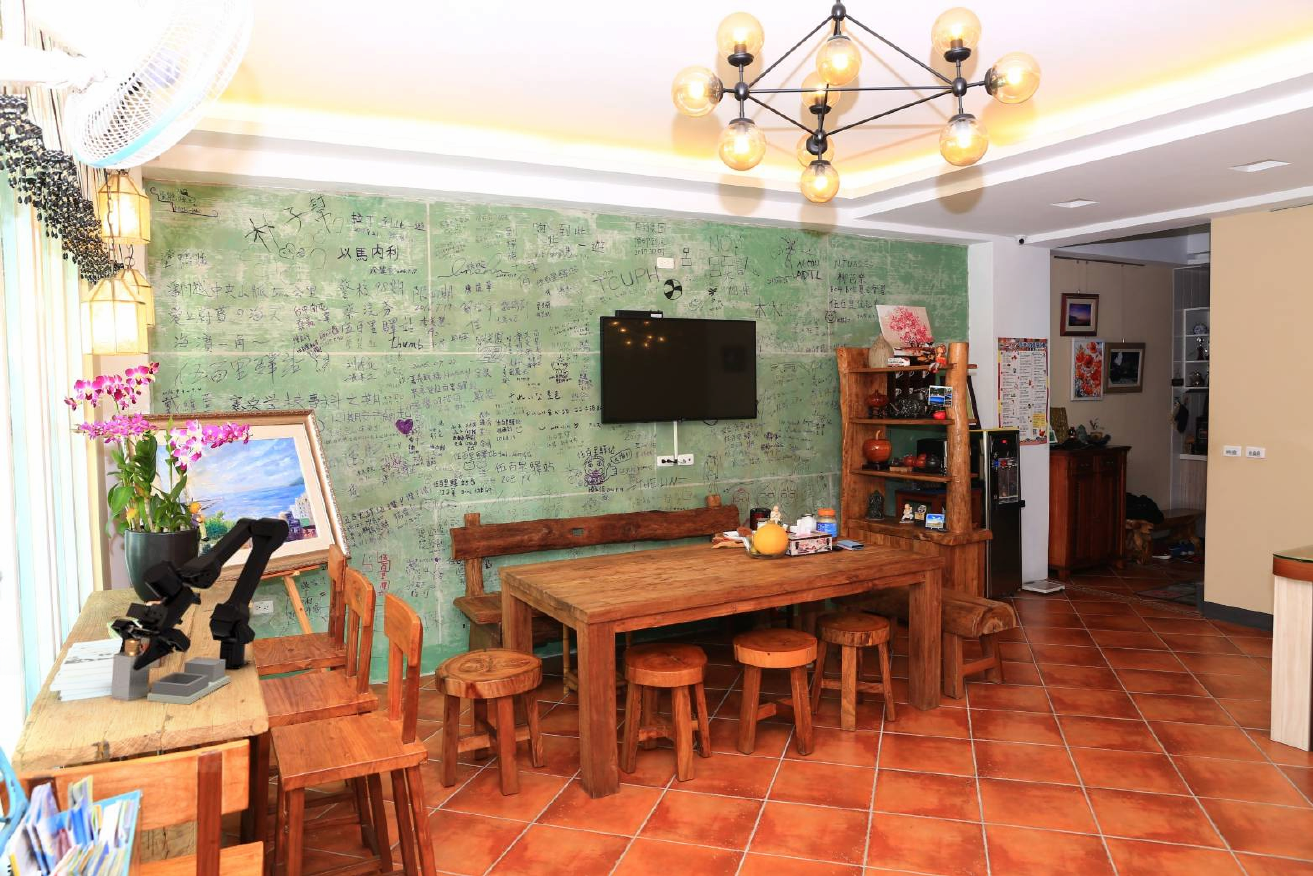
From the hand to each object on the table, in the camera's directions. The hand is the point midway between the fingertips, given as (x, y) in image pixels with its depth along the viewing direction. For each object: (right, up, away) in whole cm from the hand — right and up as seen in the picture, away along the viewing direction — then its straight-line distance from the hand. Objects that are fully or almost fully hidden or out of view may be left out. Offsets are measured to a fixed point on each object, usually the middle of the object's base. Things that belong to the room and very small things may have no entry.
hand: (125, 667), depth 195 cm
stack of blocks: (-12, -6, +32) cm, 34 cm away
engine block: (0, -7, +1) cm, 7 cm away
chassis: (+10, -7, +7) cm, 15 cm away
